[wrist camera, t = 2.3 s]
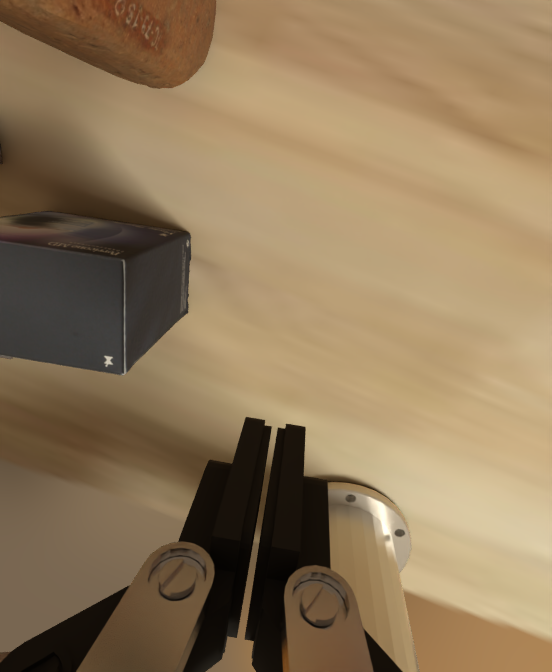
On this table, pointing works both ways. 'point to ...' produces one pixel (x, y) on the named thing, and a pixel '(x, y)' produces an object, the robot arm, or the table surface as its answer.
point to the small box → (88, 289)
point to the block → (122, 34)
